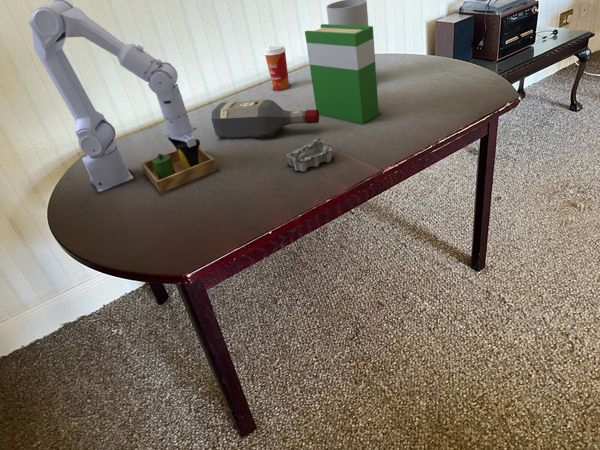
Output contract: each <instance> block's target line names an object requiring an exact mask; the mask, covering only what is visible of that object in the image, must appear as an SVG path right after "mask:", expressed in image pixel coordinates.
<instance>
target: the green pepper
mask: <svg viewBox="0 0 600 450" xmlns="http://www.w3.org/2000/svg"><path fill="white" fill-rule="evenodd" d="M152 159H153V160H152V162H153V165H154V167H155V170H156V173H157V175H158V178H159V180H161V179H163V178H166V177H168V176H171V175H173V174H176V172H175V169H174V166H173V163H172V160H171V157H170V156H169V155H164V154H162V153H158V154H157V156H155V157H154V158H152Z"/></svg>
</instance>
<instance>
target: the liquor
mask: <svg viewBox="0 0 600 450" xmlns="http://www.w3.org/2000/svg"><path fill="white" fill-rule="evenodd" d="M210 119H211V123H212V126H213V130H214V133H215V136H217V137H218V138H219V139H237V138H238V139H239V138H240V139H241V138H253V139H263V138H265V139H266V138H272V137H275V135H276V134H278V133H279V131H281V130H282V129H283V128H284V126H287V125H295V124H296V125H297V124H318V123H319V122H320V115H319V111H318V110H316V109H306V110H284V108H282V107H281V106H280V105H279V104H278V103H276V102H275V101H274V100H272V99H259V100H244V101H243V100H241V101H239V100H238V101H225V102H223V101H222V102H220V103H219V104H218V105H217V106H215V108H213V109H212V111H211V118H210Z"/></svg>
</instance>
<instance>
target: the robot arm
mask: <svg viewBox="0 0 600 450" xmlns="http://www.w3.org/2000/svg"><path fill="white" fill-rule="evenodd" d="M83 11H84V10H82V9H81V8H79V7H76V6H74V5H73V4H72V3H70V2H69V1H67V0H53V1H52V2H50V3H47V4H45V5H42V6H39V7H37V8H35V9H34V10H33V12H32V14H31V16H30V18H29V21H28V25H29V26H30V28H31V31H32V44H33V49H34V52H35V54H36V55H37V57H38V59H39V60H40V63H42V65H43V67H44V69H45V71H46V73H47V74H48V76H49V78H50V79H51V82H52V83H53V84H54V86H55V88H56V90H57V91H58V93H59V95H60V97H61V99H62V100H63V102H64V104H65V105H66V107H67V109H68V111H69V112H70V114H71V116H72V117H73V119H74V122H75V123H74V133H75V135H76V137H77V139H78V140H77V141H78V146H79V149H80V150H81V152H82V153H83V154H85V155H86V156H84V157H82V158H81V160H82V163H83V165H84V166H85V168H86V170H87V173H88V175H89V177H90V178H89V180H90V182H91V184H92V185H94V187H95V188H96V190H97V192H102V191H104V190H108V189H110V188H113V187H115V186H118V185H120V184H122V183H125V182H128V181H130V180H133V179H134V176H133V174H131V172H130V171H129V170H128V168H127V166H126V164H125V161H124V159H123V157H122V154H121V153H120V150H119V147H118V145H117V142H116V141H115V138H116V129H115V127H114V125H112V123H110V122H109V121H108V120H107V119H106V118H105V116H104V114H103V113H101V112H99V111H97V110H96V109H95V106H94V105H93V103H92V100H91V99H90V96H89V95H88V93H87V91H86V90H85V88H84V86H83V84H82V82H81V80H80V79H79V77H78V75H77V73H76V72H75V70H74V67H73V66H72V64H71V62H70V61H69V59H68V57H67V55H66V54H65V51H64V49H63V47H64V44H65V42H66V40H67V38H85V39H86V40H88V41H89V42H91V43H93V44H95V45H96V46H98V47H100V48H101V49H103V50H105V51H106V52H108V53H109V54H112V55H113V56H115V57H116V58H117V59H118V62H119V65H120V66H121V67H122V68H124V69H125V70H127V71H128V72H130V73H132V74H133V75H135V76H136V77H138V78H139V79H141V80H143V81H144V82H146V83H148V87H149V89H150V90H151V91H152V92H153V93H154V94H155V95H156V98H157V102H158V105H159V107H160V111H161V113H162V116H163V119H164V121H165V126H166V128H167V130H168V138H167V140H168V141H169V142H170V143H171V144H172V145H173V146H174V148H175V150H177V151H178V150H179V149H180V150H181V152H182V153H183V154H184V156H185V158H186V160H187V162H188V164H189V165H190V167H193V166H196V165H198V164H199V157H198V151H199V148H200V145H201V141H200V139H199V138H196V139H195V135H194V131H196V130H197V126H196V125H195V124H192V125H191V122H190V118H189V115H188V112H187V108H186V106H185V102H184V100H183V96H182V94H181V91H180V87H179V84H178V83H177V82H178V78H179V75H178V71H177V70H176V68H175V66H173V65H172V64H171V63H170V62H167V61H162V59H159V58H158V59H157V58H155V57H154V56H152V55H151V54H150V53H148V52H146V51H145V50H144V46H142V45H141V44H137V45H136V44H135V43H127V44H126V43H124V42H122V41H121V40H120V39H118V38H117V37H116V36H115V35H113V34H112V33H111V32H109V31H108V30H106V29H105V28H104V27H102V26H101V25H100V24H99V23H97V22H96V21H95V20H93V19H91V18H90V17H89V16H88V15H87V14H86V13H85V12H83Z"/></svg>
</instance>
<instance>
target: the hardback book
mask: <svg viewBox="0 0 600 450" xmlns="http://www.w3.org/2000/svg"><path fill="white" fill-rule="evenodd" d="M374 35H375V34H374V26H373V25H368V26H355V25H332V24H328V23H322V24H320V28H317V29H316V30H305V31H304V37H305V41H306V42H305V44H306V51H307V56H308V57H307V58H308V65H309V70H310V71H309V72H310V78H311V85H312V90H313V97H314V103H315V104H314V105H315V110H318V111H319V116H324V117H329V118H333V119H338V120H342V121H347V122H353V123H357V124H360V125H361V124H362V125H364V124H365V123H367V122H368V121H370V120H372V119H373V118H375V117H377V116H378V115H379V114H380V110H379V96H378V83H377V82H378V81H377V68H376V67H377V65H376V52H375V38H374V37H375V36H374Z"/></svg>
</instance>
